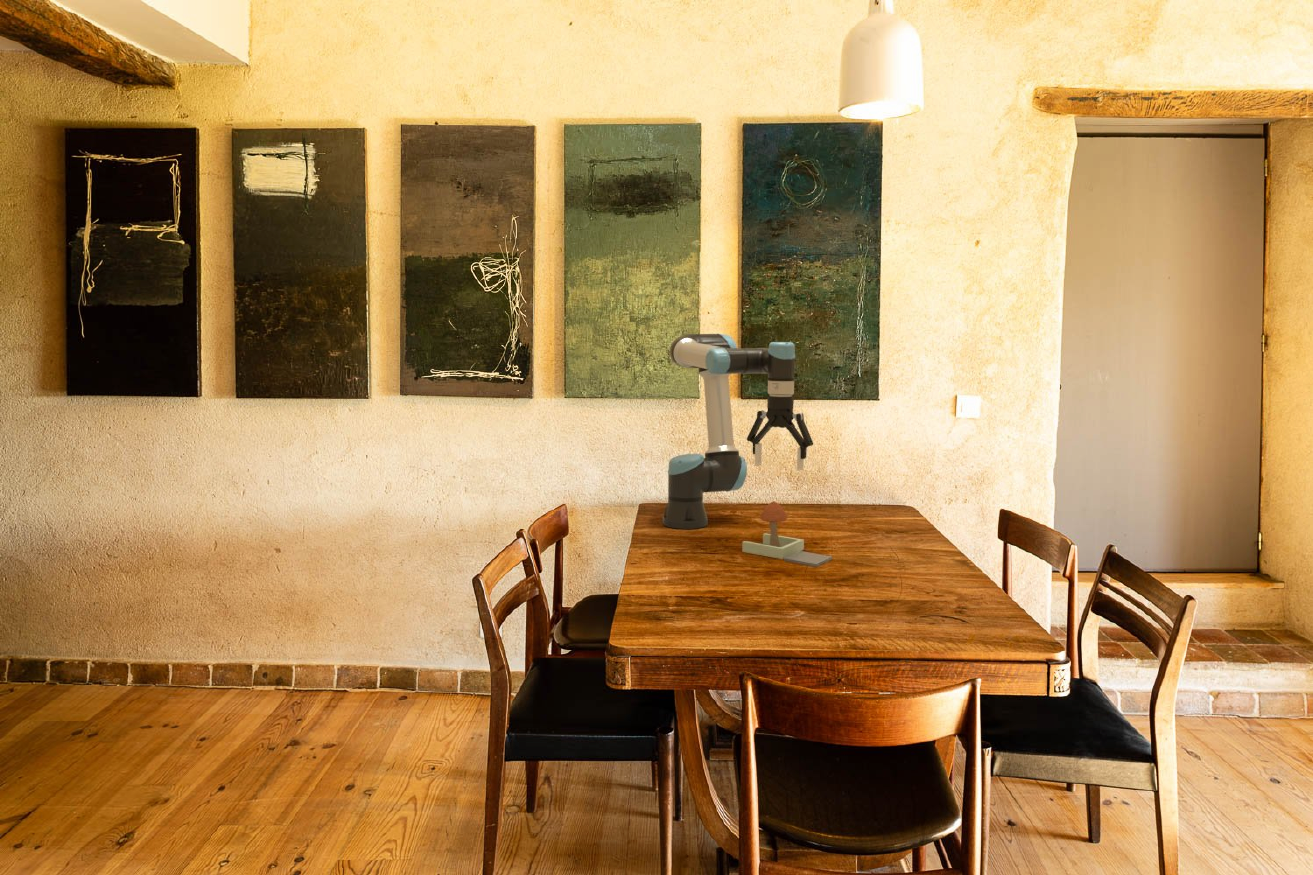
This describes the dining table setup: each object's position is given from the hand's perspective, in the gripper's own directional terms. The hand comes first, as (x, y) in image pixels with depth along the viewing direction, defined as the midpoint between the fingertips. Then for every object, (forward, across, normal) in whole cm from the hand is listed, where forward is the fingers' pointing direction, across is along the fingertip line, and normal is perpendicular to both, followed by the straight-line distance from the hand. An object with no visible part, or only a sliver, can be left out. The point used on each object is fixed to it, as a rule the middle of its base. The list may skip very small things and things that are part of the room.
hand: (778, 467), depth 242 cm
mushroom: (+25, 0, -1) cm, 25 cm away
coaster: (+25, +12, -5) cm, 28 cm away
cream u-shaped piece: (+25, 0, -1) cm, 25 cm away
